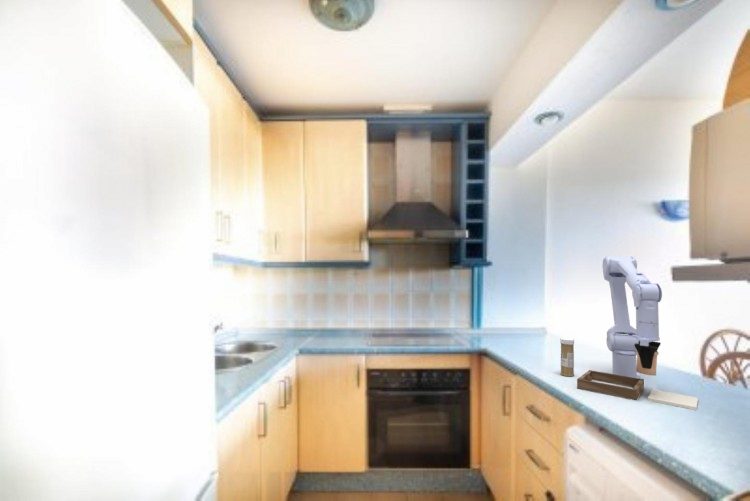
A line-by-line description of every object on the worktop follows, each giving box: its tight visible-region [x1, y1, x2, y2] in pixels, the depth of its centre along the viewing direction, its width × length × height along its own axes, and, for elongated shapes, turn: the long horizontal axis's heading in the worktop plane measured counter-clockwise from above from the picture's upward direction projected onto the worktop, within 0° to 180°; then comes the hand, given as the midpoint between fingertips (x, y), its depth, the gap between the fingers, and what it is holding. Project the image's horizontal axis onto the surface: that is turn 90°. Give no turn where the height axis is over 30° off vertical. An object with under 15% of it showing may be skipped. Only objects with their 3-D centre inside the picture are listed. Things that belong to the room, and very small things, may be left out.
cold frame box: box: [576, 369, 645, 401], centre depth 123 cm, size 16×16×3 cm
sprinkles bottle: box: [559, 337, 575, 377], centre depth 139 cm, size 5×5×13 cm
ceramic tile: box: [647, 389, 699, 411], centre depth 112 cm, size 11×11×1 cm
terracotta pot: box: [636, 349, 659, 377], centre depth 117 cm, size 6×6×7 cm
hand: (648, 366), depth 117 cm, fingers closed on terracotta pot, 5 cm apart
